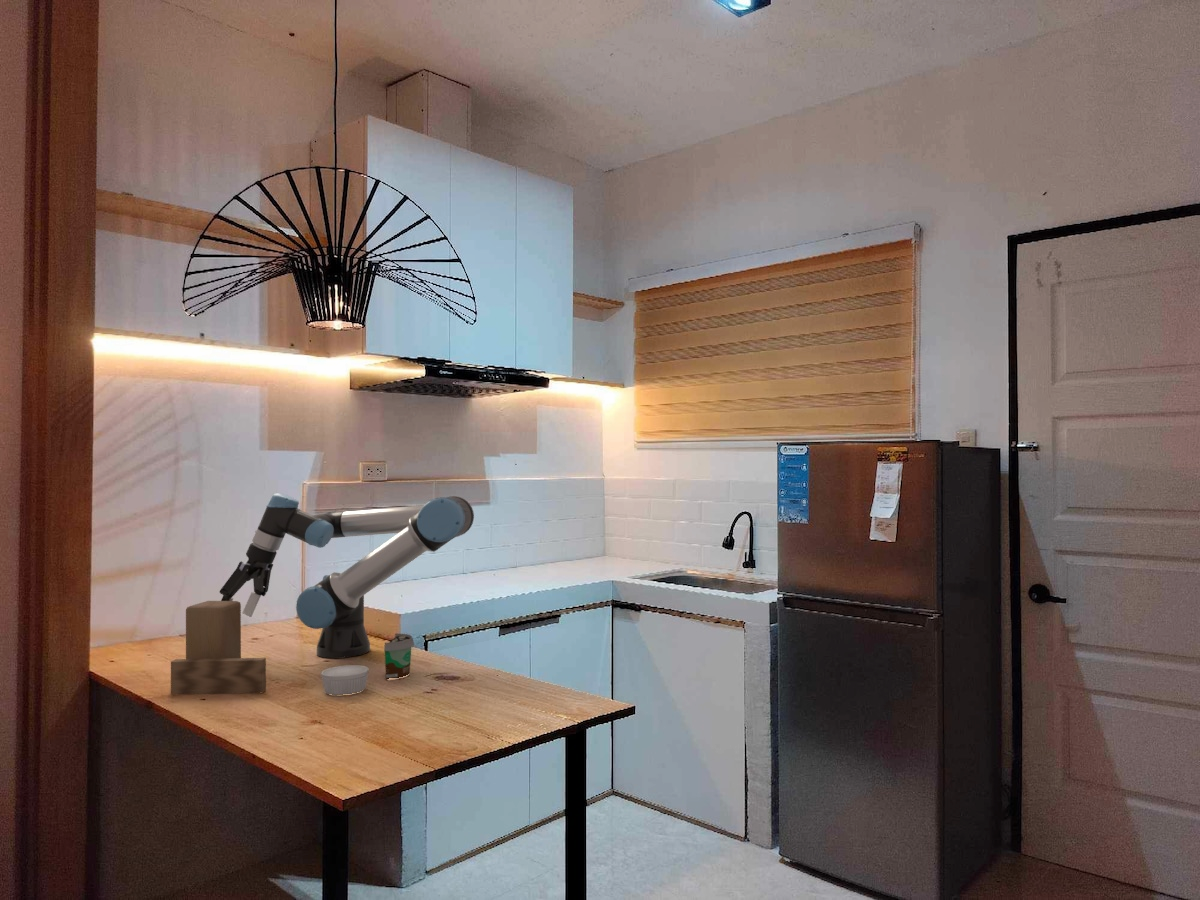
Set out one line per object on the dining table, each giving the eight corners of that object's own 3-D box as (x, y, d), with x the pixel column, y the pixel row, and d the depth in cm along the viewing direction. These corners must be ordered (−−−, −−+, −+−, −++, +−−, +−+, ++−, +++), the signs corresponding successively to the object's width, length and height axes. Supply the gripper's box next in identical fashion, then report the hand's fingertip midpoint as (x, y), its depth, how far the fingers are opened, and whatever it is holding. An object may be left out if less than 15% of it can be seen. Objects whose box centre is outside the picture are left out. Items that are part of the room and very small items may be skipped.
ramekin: (312, 692, 203) (312, 670, 203) (354, 683, 211) (354, 662, 211) (334, 701, 195) (334, 678, 195) (377, 691, 203) (377, 670, 203)
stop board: (265, 690, 205) (265, 657, 205) (262, 693, 202) (262, 660, 202) (175, 691, 204) (175, 659, 204) (170, 694, 202) (170, 661, 202)
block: (242, 676, 219) (242, 600, 219) (221, 686, 209) (221, 607, 209) (206, 675, 220) (206, 600, 220) (184, 685, 210) (184, 606, 210)
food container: (408, 682, 212) (408, 642, 212) (384, 682, 211) (384, 643, 212) (418, 669, 224) (418, 632, 224) (395, 670, 224) (395, 633, 224)
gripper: (276, 542, 246) (247, 608, 245) (227, 541, 221) (194, 614, 220) (297, 552, 245) (268, 618, 243) (250, 552, 220) (217, 626, 219)
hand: (233, 616), depth 232 cm, fingers open, 13 cm apart
